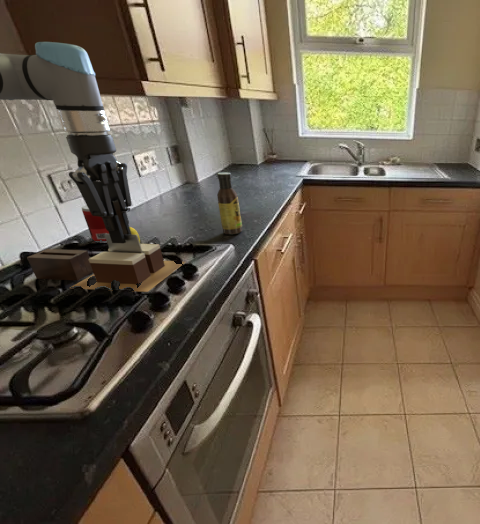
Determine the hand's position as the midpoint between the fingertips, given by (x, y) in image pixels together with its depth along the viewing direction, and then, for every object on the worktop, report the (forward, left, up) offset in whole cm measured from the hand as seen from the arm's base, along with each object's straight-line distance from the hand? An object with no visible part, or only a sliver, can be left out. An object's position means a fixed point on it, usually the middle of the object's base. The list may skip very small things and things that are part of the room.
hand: (122, 240), depth 77 cm
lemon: (-12, +16, -10) cm, 23 cm away
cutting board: (0, 0, -10) cm, 10 cm away
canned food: (-25, +24, -10) cm, 36 cm away
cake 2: (0, +3, -9) cm, 9 cm away
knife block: (-15, -2, -10) cm, 18 cm away
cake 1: (0, -3, -9) cm, 9 cm away
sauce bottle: (+10, +35, -10) cm, 38 cm away
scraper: (0, 0, -6) cm, 6 cm away
